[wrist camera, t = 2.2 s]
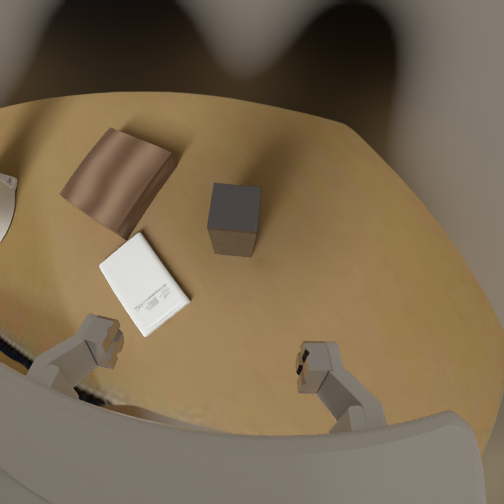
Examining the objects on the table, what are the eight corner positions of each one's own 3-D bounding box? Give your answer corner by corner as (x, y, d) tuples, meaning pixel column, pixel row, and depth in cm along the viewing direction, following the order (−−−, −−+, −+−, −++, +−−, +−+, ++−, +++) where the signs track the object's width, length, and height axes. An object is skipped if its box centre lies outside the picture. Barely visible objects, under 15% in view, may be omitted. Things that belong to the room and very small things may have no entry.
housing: (214, 253, 37) (207, 226, 27) (219, 220, 39) (213, 183, 28) (250, 257, 38) (257, 231, 27) (254, 223, 39) (260, 187, 28)
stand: (71, 203, 38) (59, 194, 34) (117, 140, 41) (109, 127, 38) (126, 240, 37) (116, 232, 33) (176, 166, 41) (172, 152, 37)
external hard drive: (143, 234, 38) (191, 302, 36) (102, 268, 36) (147, 337, 34) (139, 231, 36) (189, 301, 34) (98, 265, 35) (143, 337, 33)
